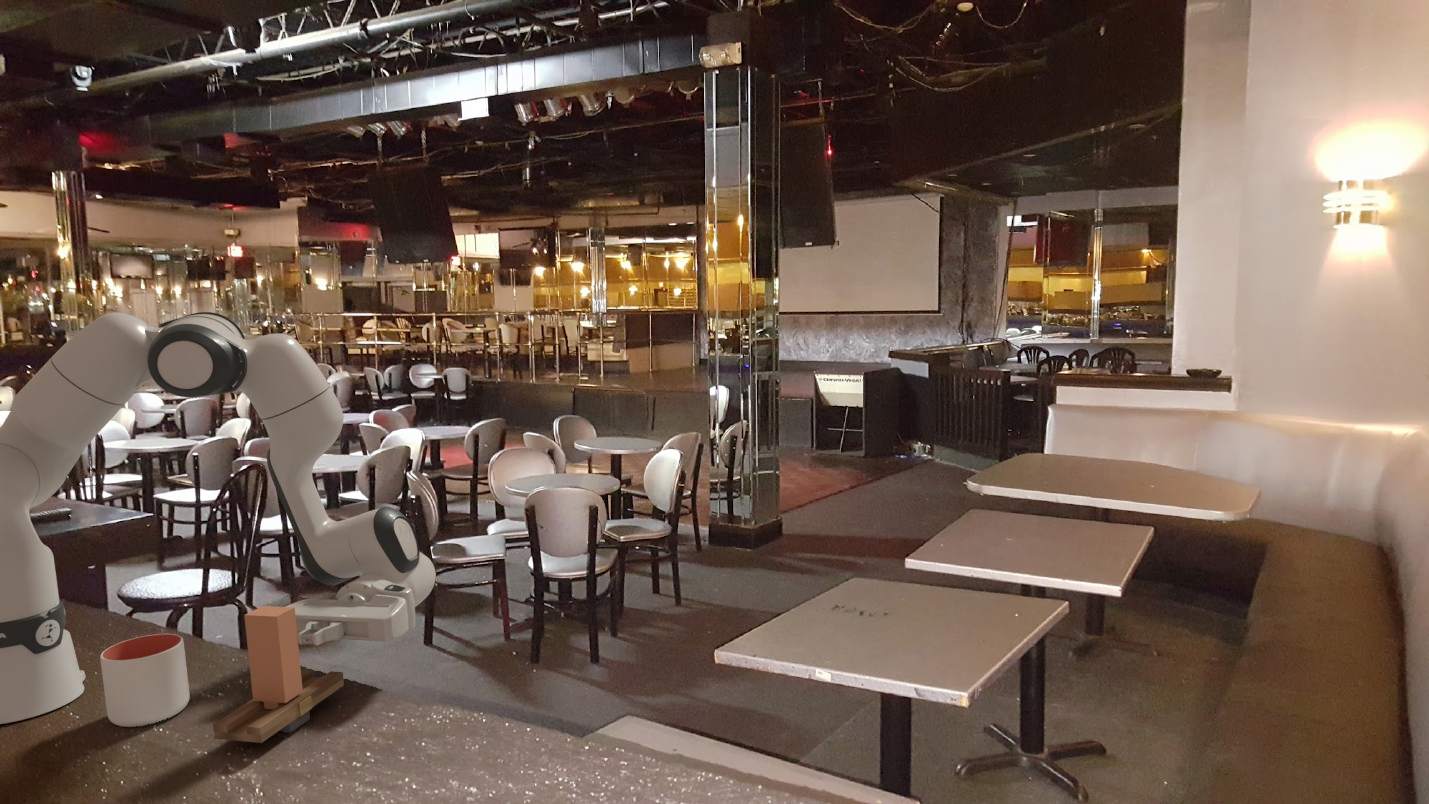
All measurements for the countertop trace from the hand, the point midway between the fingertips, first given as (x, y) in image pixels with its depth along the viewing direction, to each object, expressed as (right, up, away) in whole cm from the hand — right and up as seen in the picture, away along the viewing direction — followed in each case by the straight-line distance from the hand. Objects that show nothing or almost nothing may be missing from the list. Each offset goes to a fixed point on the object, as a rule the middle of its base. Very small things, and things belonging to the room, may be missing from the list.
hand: (307, 640), depth 129 cm
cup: (-22, -11, 0) cm, 25 cm away
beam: (-1, -10, -4) cm, 11 cm away
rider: (-1, -7, -5) cm, 9 cm away
